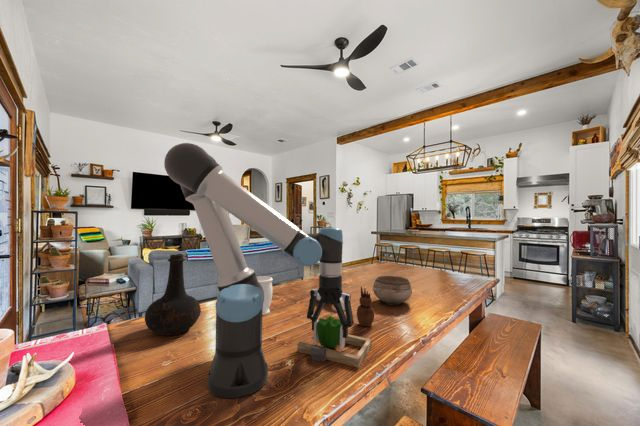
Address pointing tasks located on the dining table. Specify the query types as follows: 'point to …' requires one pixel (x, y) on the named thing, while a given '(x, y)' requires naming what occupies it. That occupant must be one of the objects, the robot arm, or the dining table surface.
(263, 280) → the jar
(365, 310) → the wooden figurine
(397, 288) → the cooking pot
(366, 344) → the tan wooden u-shaped frame
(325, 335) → the bell pepper
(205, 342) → the dining table surface
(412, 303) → the dining table surface
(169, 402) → the dining table surface
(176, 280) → the glass bottle
